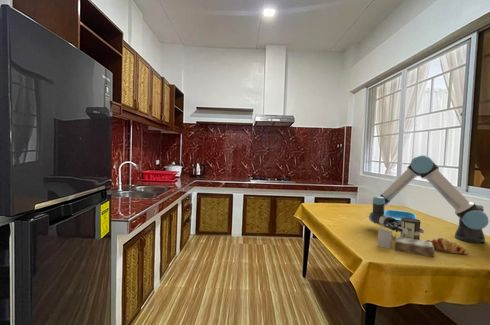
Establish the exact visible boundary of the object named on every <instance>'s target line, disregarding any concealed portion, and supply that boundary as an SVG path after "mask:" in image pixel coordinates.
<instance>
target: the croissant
mask: <svg viewBox="0 0 490 325" xmlns="http://www.w3.org/2000/svg"><path fill="white" fill-rule="evenodd" d="M426 241H429V242H432V244H433V247H434V250H436V251H439V252H444V253H451V254H459V255H460V254H462V255H468V254H470V250H468V249H466V248H465V247H463V246H460V245H459V244H458V243H457V242H453V241H451V242H450V241H449V240H448V239H447V238H443V237H439V238H437V239H436V238H435V239H432V240H429V239H427V240H426Z"/></svg>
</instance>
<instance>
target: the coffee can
mask: <svg viewBox="0 0 490 325" xmlns="http://www.w3.org/2000/svg"><path fill="white" fill-rule="evenodd" d="M401 228H404V229H407V230H408V234H404V233H402V232H400V237H404V238H410V239H416V240H420V236H421V233H420V228H421V220H419V219H417V218H416V219H413V218H401Z"/></svg>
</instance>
